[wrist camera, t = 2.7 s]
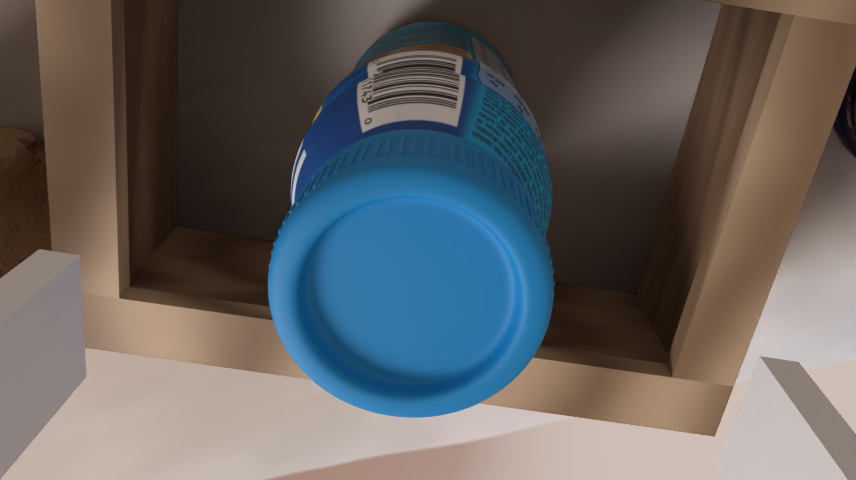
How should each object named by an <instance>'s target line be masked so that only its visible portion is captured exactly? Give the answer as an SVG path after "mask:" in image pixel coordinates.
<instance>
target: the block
mask: <svg viewBox="0 0 856 480" xmlns="http://www.w3.org/2000/svg"><path fill="white" fill-rule="evenodd" d="M39 249H41V250H48V251H52V243H51V228H50V214H49V199H48V184H47V170H46V155H45V147H44V146H43V145H42V144H41V142H40V140H39V139H38V138H36V137H35V136H34V135H33V134H31V133H29V132H26V131H24V130H21V129H15V128H0V278H2V277H3V276H4V275H6V274H7V273H8V272H10V271H11V270H12V269H14V268H15V267H16V266H18V265H19V264H20V263H22V262H23V261H24V260H26V259H27V258H28V257H30V256H31V255H32V254H34V253H35V252H36V251H38V250H39Z"/></svg>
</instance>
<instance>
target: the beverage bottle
mask: <svg viewBox="0 0 856 480" xmlns="http://www.w3.org/2000/svg"><path fill="white" fill-rule="evenodd" d="M551 209H552V182H551V175H550V169H549V165H548V161H547V158H546V155H545V151H544V146H543V142H542V138H541V134H540V131H539V128H538V126H537V123H536V121H535V119H534V117H533V115H532V113H531V111H530V109H529V107H528V106H527V104H526V103H525V101H524V100H523V98H522V97H521V96H520V95H519V93H518V92H517V90H516V87H515V84H514V81H513V78H512V76H511V73H510V71H509V69H508V67H507V65H506V64H505V62H504V60H503V59H502V57H501V56H500V55H499V54H498V52H497V51H496V50H495V49H494V48H493V47H492V46H491V45H490V44H489V43H488V42H487V41H485V40H484V39H483V38H481V37H480V36H478V35H477V34H475V33H474V32H472V31H470V30H468V29H465V28H463V27H460V26H457V25H454V24H450V23H444V22H418V23H413V24H409V25H405V26H402V27H400V28H397V29H395V30H393V31H391V32H389V33H388V34H386V35H384V36H383V37H381V38H380V39H379V40H377V41H376V42H375V43H374V44H373V45H372V46H371V47H370V48H369V49H368V50H367V51H366V52H365V53H364V55H363V56H362V57H361V59H360V60H359V62H358V63H357V65H356V67H355V68H354V70H353V71H352V73H350V74H349V75H348V76H347V77H345V78H344V79H343V80H342V81H341V82H340V83H339V84H338V85H337V86H336V87H335V88H334V89H333V90H332V91H331V93H330V94H329V95H328V96H327V98H326V99H325V100H324V102H323V103H322V105H321V107H320V108H319V110H318V112H317V114H316V116H315V118H314V120H313V122H312V124H311V126H310V128H309V130H308V131H307V133H306V135H305V137H304V139H303V141H302V143H301V145H300V148H299V150H298V153H297V156H296V159H295V163H294V167H293V173H292V180H291V208H290V210H289V212H288V214H287V215H286V217H285V219H284V220H283V222H282V225H281V227H280V229H279V230H278V233H279V234H278V236H277V237H276V239H275V241H274V243H273V244H274V245H275V246H274V248H273V249H272V251H271V255H272V257H271V261H270V263H269V274H268V297H269V305H270V310H271V315H272V318H273V322H274V325H275V327H276V330H277V332H278V335H279V337H280V339H281V341H282V343H283V345H284V347H285V348H286V350H287V351H288V353H289V354H290V356H291V357H292V359H293V360H294V361H295V363H296V364H297V365H298V366H299V367H300V368H301V370H302V371H303V372H304V373H305V374H306V375H307V376H308V377H309V378H311V379H312V380H313V381H314V382H315V383H316V384H318V385H319V386H320V387H322V388H323V389H324V390H326V391H327V392H329V393H330V394H332V395H334V396H335V397H337V398H339V399H341V400H343V401H345V402H347V403H349V404H351V405H354V406H356V407H359V408H361V409H364V410H367V411H371V412H375V413H379V414H384V415H389V416H397V417H431V416H439V415H444V414H449V413H453V412H457V411H460V410H463V409H466V408H469V407H471V406H474V405H476V404H478V403H480V402H482V401H484V400H486V399H488V398H490V397H491V396H493V395H495V394H496V393H498V392H499V391H501V390H502V389H503V388H505V387H506V386H507V385H508V384H510V383H511V382H512V381H513V380H514V379H515V378H516V377H517V376H518V375H519V374H520V373H521V372H522V371H523V370H524V369H525V368H526V366H527V365H528V364H529V362H530V361H531V360H532V358H533V357H534V355H535V354H536V352H537V350H538V348H539V347H540V345H541V343H542V341H543V338H544V336H545V333H546V331H547V328H548V325H549V321H550V317H551V312H552V307H553V297H554V290H553V286H555V282H554V279H553V274H554V269H553V266H552V263H553V261H552V258H551V255H550V249H549V246H548V243H547V240H546V232H547V229H548V225H549V221H550V216H551Z"/></svg>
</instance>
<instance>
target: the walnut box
mask: <svg viewBox="0 0 856 480" xmlns="http://www.w3.org/2000/svg"><path fill="white" fill-rule="evenodd" d="M703 1H709V2H715V3H721V4H723V5H722V8H721V11H720V15H719V18H718V21H717V25H716V28H715V31H714V35H713V38H712V42H711V45H710V48H709V52H708V55H707V58H706V62H705V65H704V68H703V72H702V75H701V79H700V82H699V85H698V89H697V92H696V95H695V99H694V102H693V105H692V109H691V112H690V116H689V119H688V122H687V126H686V129H685V132H684V136H683V139H682V142H681V146H680V149H679V152H678V156H677V159H676V163H675V166H674V169H673V173H672V176H671V179H670V183H669V186H668V189H667V193H666V196H665V200H664V203H663V206H662V210H661V213H660V216H659V220H658V223H657V226H656V230H655V233H654V237H653V240H652V243H651V247H650V250H649V253H648V257H647V260H646V263H645V267H644V270H643V274H642V277H641V280H640V284H639V287H638V290H637V294H630V293H624V292H617V291H610V290H603V289H596V288H589V287H583V286H576V285H569V284H562V283H555V286H553V290H554V297H553V307H552V312H551V317H550V321H549V325H548V328H547V331H546V333H545V336H544V338H543V341H542V343H541V345H540V347H539V348H538V350H537V352H536V354H535V355H534V357H533V358H532V360H531V361H530V362H529V364H528V365H527V366H526V368H525V369H524V370H523V371H522V372H521V373H520V374H519V375H518V376H517V377H516V378H515V379H514V380H513V381H512V382H511V383H510V384H508V385H507V386H506V387H505V388H503V389H502V390H501V391H499V392H498V393H496V394H495V395H493V396H491V397H490V398H488V399H486V400H484V401H482V402H480V403H481V404H488V405H495V406H502V407H510V408H517V409H524V410H531V411H538V412H545V413H552V414H559V415H566V416H573V417H580V418H588V419H595V420H602V421H609V422H616V423H623V424H630V425H637V426H644V427H651V428H658V429H666V430H673V431H680V432H687V433H694V434H701V435H708V436H715V434H716V431H717V429H718V426H719V424H720V421H721V418H722V415H723V413H724V410H725V408H726V405H727V403H728V400H729V397H730V395H731V392H732V389H733V387H734V384H735V382H736V379H737V376H738V374H739V371H740V368H741V366H742V363H743V361H744V358H745V355H746V353H747V350H748V347H749V345H750V342H751V340H752V337H753V334H754V332H755V329H756V326H757V324H758V321H759V319H760V316H761V313H762V311H763V308H764V305H765V303H766V300H767V298H768V295H769V292H770V290H771V287H772V284H773V282H774V279H775V277H776V274H777V271H778V269H779V266H780V263H781V261H782V258H783V256H784V253H785V250H786V248H787V245H788V242H789V240H790V237H791V235H792V232H793V229H794V227H795V224H796V221H797V219H798V216H799V214H800V211H801V208H802V206H803V203H804V200H805V198H806V195H807V192H808V190H809V187H810V185H811V182H812V179H813V177H814V174H815V171H816V169H817V166H818V164H819V161H820V158H821V156H822V153H823V150H824V148H825V145H826V143H827V140H828V137H829V135H830V132H831V129H832V127H833V124H834V122H835V119H836V116H837V114H838V111H839V108H840V106H841V103H842V101H843V98H844V95H845V93H846V90H847V87H848V85H849V82H850V80H851V77H852V74H853V72H854V69H855V66H856V0H703ZM35 10H36V24H37V39H38V54H39V68H40V83H41V97H42V112H43V126H44V141H45V155H46V170H47V184H48V199H49V214H50V228H51V243H52V251H55V252H61V253H68V254H75V255H80V268H81V287H82V306H83V325H84V344H85V348H91V349H98V350H105V351H112V352H119V353H126V354H134V355H141V356H148V357H155V358H162V359H169V360H176V361H183V362H190V363H197V364H204V365H212V366H219V367H226V368H233V369H240V370H247V371H254V372H261V373H268V374H275V375H283V376H290V377H297V378H304V379H311V378H309V377H308V376H307V375H306V374H305V373H304V372H303V371H302V370H301V368H300V367H299V366H298V365H297V364H296V363H295V361H294V360H293V359H292V357H291V356H290V354H289V353H288V351H287V350H286V348H285V347H284V345H283V343H282V341H281V339H280V337H279V335H278V332H277V330H276V327H275V325H274V322H273V318H272V315H271V310H270V305H269V297H268V274H269V263H270V261H271V257H272V255H271V251H272V249H273V248H274V246H275V245H274V244H273V243H274V241H269V240H262V239H255V238H248V237H241V236H235V235H228V234H221V233H214V232H207V231H201V230H194V229H187V228H180V227H177V96H178V0H35ZM311 380H312V379H311Z"/></svg>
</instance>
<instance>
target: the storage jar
mask: <svg viewBox="0 0 856 480" xmlns="http://www.w3.org/2000/svg"><path fill="white" fill-rule="evenodd" d="M833 126H834V129H835V132H836V134H837V135H838V137H839V139H840V141H841V142H842V144H843V145H844V146H845V147H846V148H847V150H848V151H849V152H850V153H851V154H852V155H853V156H855V157H856V66H855V69H854V72H853V74H852V77H851V80H850V82H849V85H848V87H847V90H846V93H845V95H844V98H843V101H842V103H841V106H840V108H839V111H838V114H837V116H836V119H835V122H834V124H833Z"/></svg>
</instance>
